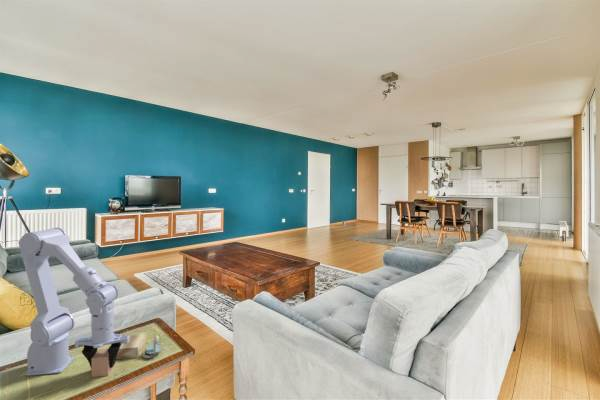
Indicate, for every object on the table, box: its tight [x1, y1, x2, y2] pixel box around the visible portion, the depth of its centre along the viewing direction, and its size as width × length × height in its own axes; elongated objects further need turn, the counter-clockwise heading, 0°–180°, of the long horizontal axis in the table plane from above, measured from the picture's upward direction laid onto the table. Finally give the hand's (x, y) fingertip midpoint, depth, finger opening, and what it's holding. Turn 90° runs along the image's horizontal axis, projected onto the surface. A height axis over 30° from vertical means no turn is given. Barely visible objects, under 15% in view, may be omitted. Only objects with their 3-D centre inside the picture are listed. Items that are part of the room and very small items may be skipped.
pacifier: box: [141, 334, 163, 359], centre depth 99 cm, size 7×6×6 cm
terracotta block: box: [91, 348, 115, 378], centre depth 89 cm, size 4×4×6 cm
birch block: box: [116, 334, 146, 360], centre depth 100 cm, size 8×8×4 cm
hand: (103, 366), depth 89 cm, fingers closed on terracotta block, 4 cm apart
